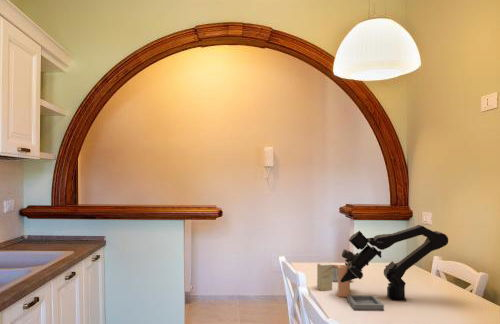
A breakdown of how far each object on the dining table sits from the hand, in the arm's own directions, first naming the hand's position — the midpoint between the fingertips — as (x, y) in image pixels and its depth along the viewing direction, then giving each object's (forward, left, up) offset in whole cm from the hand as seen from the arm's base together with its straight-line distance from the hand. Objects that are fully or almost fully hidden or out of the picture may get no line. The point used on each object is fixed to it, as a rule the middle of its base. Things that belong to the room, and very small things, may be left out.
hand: (340, 280), depth 162 cm
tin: (-4, -22, -7) cm, 23 cm away
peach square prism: (-1, 0, -7) cm, 7 cm away
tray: (-7, +12, -7) cm, 16 cm away
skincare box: (+6, -9, -7) cm, 13 cm away
